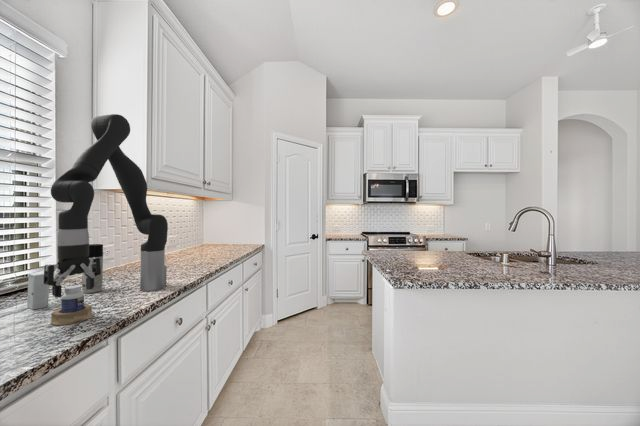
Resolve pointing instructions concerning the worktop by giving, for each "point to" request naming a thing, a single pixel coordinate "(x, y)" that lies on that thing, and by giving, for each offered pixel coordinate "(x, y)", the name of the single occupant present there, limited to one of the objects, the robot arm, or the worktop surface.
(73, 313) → the collar
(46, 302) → the skincare box
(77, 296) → the pill bottle
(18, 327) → the worktop surface
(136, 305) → the worktop surface
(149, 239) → the robot arm
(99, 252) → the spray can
